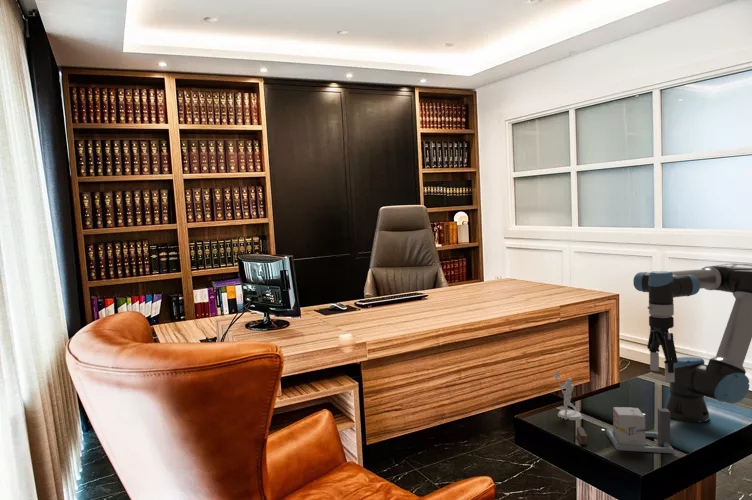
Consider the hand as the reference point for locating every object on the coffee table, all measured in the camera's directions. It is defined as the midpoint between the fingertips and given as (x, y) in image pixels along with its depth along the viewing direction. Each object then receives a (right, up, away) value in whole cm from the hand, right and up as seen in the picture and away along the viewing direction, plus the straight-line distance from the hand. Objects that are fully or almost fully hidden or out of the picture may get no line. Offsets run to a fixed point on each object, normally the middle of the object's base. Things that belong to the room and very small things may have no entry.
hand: (661, 375), depth 180 cm
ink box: (-12, -24, -1) cm, 27 cm away
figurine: (-22, -23, +26) cm, 41 cm away
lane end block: (-27, -24, +3) cm, 36 cm away
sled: (-8, -23, -1) cm, 25 cm away
